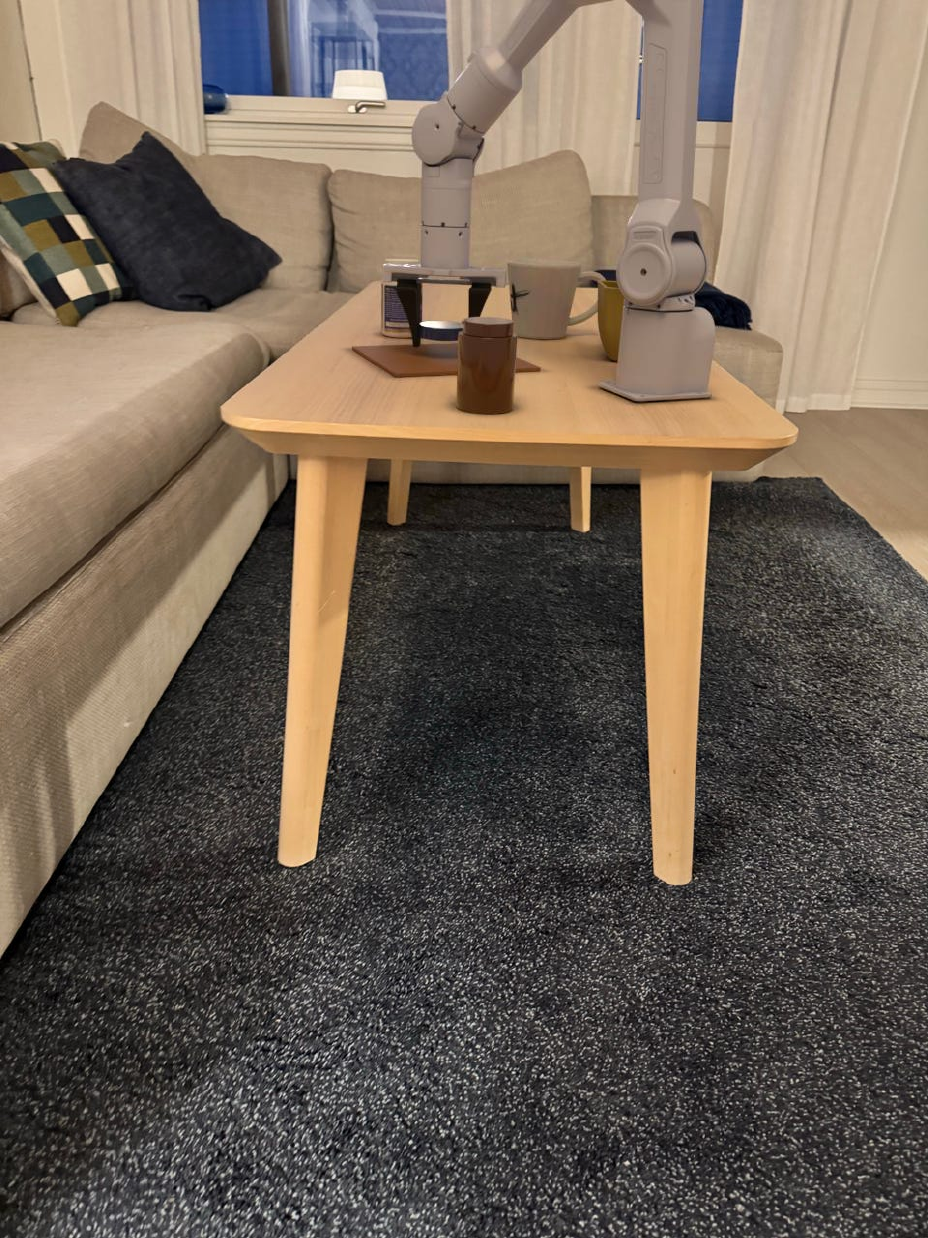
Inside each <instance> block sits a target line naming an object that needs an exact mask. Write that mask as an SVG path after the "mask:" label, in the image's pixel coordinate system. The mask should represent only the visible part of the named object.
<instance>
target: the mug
mask: <svg viewBox="0 0 928 1238" xmlns="http://www.w3.org/2000/svg"><path fill="white" fill-rule="evenodd" d="M506 264H507V265H506V266H507V277H508V288H509V289H508V291H509V301H510V311H511V312H510V313H511V320H512V321H514V330H513V333H515V334H517V338H523V339H530V340H558V339H562V338H565V337H566V335H567V330H568V327H572V326H576V325H579V324H581V323H583V322H586V321H587V320H589V319H590V318H592V317H593V316H595V315H596V314H598V299H597V300H596V302H595V303H593V305H592V306H590V308H589V309H587V310H586V311H584V312H582V313H581V314H580V313H579V314H578V315H576V316H573V317H571V314H572V313H571V312H572V309H573V304H574V300H575V296H576V291H577V287H578V282H579V283H580V282H583V281H588V280H589V281H590V280H591V281H594V282H596V283H598V281H607V280H606V278H605V277H604V275H602V274H601V273H600V272H596V271H592V270H585V271H582V272H581V269H582V264H581V263H580V262H576V261H571V260H561V259H550V258H549V259H548V258H547V259H546V258H512V259H508V260H507V262H506Z"/></svg>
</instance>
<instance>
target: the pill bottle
mask: <svg viewBox="0 0 928 1238" xmlns="http://www.w3.org/2000/svg"><path fill="white" fill-rule="evenodd" d="M384 264H420V260H418V259H411V258H385V259H384ZM423 284H424V283H422V287H421V302H420V323H422V322H423V294H424V293H423V289H424V288H423V287H424V286H423ZM396 287H397V282H383V278H382V279H381V281H380V292H381V293H380V297H381V298H380V300H381V301H380V304H381V305H380V306H381V307H380V312H381V313H380V314H381V315H380V325H381V326H380V328H381V334H382V335H383V336H385V337H388V338H400V339H401V338H402V339H403V338H405V339H407V338H408V339H412V336H411V331H410V327H409V323H408V320H407V317H406V314H405V311H404V308H403V306H402V303H401V301H400V299H399V297H398V295H397V292H396Z"/></svg>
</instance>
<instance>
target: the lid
mask: <svg viewBox="0 0 928 1238" xmlns="http://www.w3.org/2000/svg"><path fill="white" fill-rule="evenodd" d="M418 330H419V337H420V338H421V339H423V340H429V341H435V342H458V333H459V332H460V331H463V324H462V322H457V321H448V320H447V321H444V320H434V321H431V320H430V321H422V323H419V328H418Z"/></svg>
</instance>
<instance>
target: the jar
mask: <svg viewBox="0 0 928 1238" xmlns="http://www.w3.org/2000/svg"><path fill="white" fill-rule="evenodd" d="M461 323H462V324H463V331H460V332H459V333H458V341H457V343H458V363H457V375H456V397H455V399H456V400H455V406H456V408H457V410H460V411H462V412H466V413H470V414H477V415H478V414H479V415H499V414H500V415H501V414H506V413H510V412H512V411H513V410H514V402H515V401H514V399H515V385H516V384H515V383H516V372H515V368H516V357H517V349H518V336H517V334H515V333H513V330H514V321H512V319H510V318H509V319H508V318H503V317H496V316H495V317H492V316H480V317H471V318H468V317H466V318H463V319H462V320H461Z"/></svg>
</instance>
